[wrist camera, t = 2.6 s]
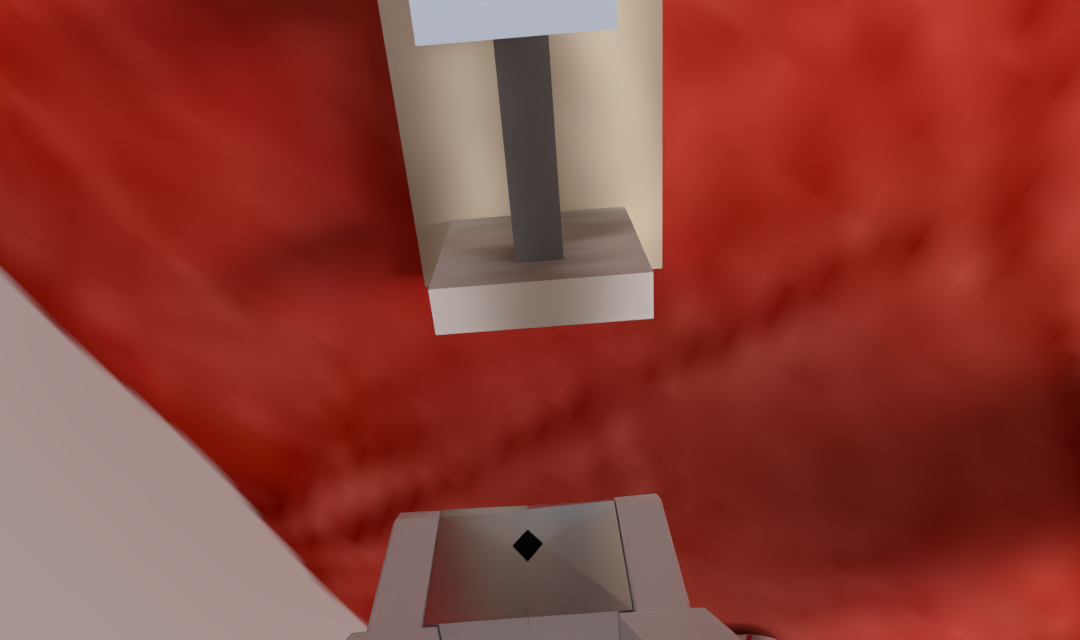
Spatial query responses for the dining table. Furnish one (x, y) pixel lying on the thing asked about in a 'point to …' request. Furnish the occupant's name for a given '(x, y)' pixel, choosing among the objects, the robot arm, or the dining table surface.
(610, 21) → the slide rail carriage
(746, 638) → the soda can
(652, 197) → the linear slide rail
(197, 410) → the dining table surface
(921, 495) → the dining table surface
